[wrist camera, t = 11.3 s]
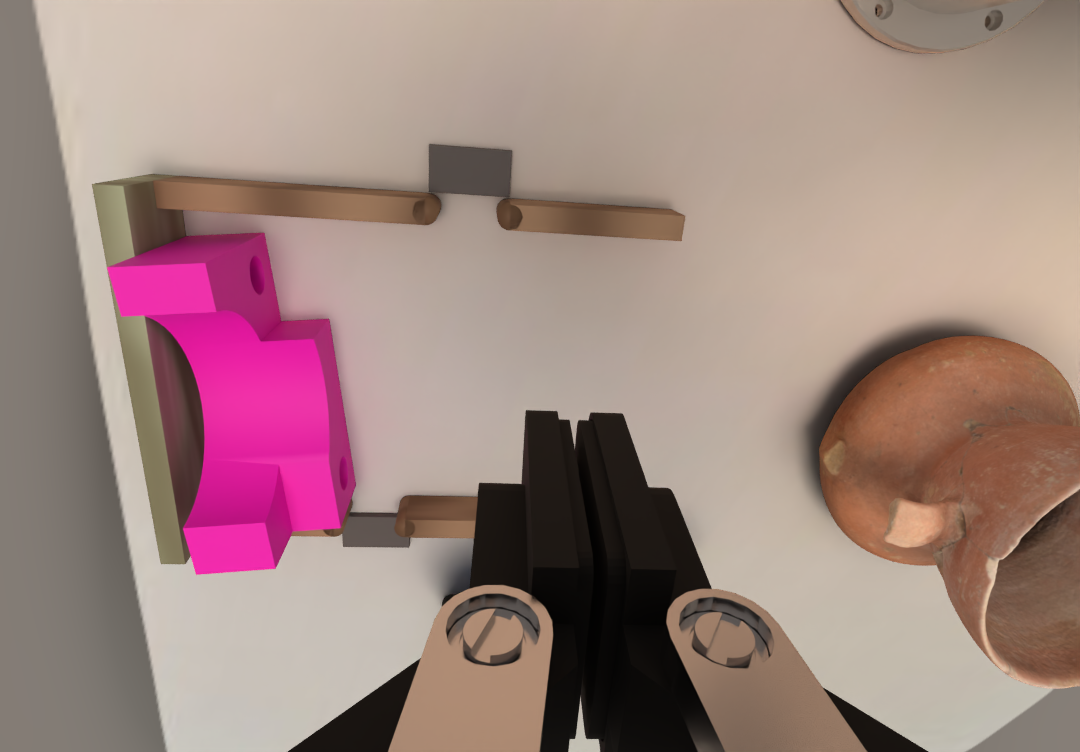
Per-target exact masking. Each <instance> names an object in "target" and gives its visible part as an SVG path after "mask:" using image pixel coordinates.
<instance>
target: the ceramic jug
mask: <svg viewBox="0 0 1080 752" xmlns="http://www.w3.org/2000/svg"><path fill="white" fill-rule="evenodd" d="M819 455H820V481H821V486H822V491H823V495H824V498H825V501H826V504H827V507H828V509H829V511H830V513H831V515H832V517H833V519H834V520H835V522H836V524H837V525H838V526H839V528H840V529H841V530H842V531H843V532H844V533H845V534H846V535H847V536H848V537H849V538H850V539H851V540H852V541H853V542H855V543H856V544H857V545H859V546H860V547H861V548H863V549H865V550H866V551H868V552H870V553H872V554H875V555H877V556H879V557H882V558H884V559H887V560H890V561H894V562H898V563H903V564H910V565H937V567H938V569H939V571H940V573H941V575H942V577H943V580H944V582H945V586H946V589H947V592H948V595H949V598H950V600H951V602H952V604H953V606H954V608H955V610H956V612H957V614H958V616H959V617H960V619H961V621H962V623H963V624H964V626H965V628H966V629H967V631H968V632H969V634H970V635H971V637H972V638H973V640H974V641H975V642H976V643H977V645H978V646H979V647H980V649H981V650H982V651H983V652H984V653H985V655H986V656H987V657H988V658H989V659H990V660H991V661H992V662H993V663H994V664H995V665H996V666H997V667H998V668H999V669H1001V670H1002V671H1003V672H1005V673H1006V674H1007V675H1009V676H1010V677H1012V678H1014V679H1016V680H1018V681H1020V682H1024V683H1026V684H1029V685H1033V686H1037V687H1042V688H1058V689H1061V688H1070V687H1073V686H1080V415H1079V410H1078V406H1077V402H1076V399H1075V396H1074V394H1073V392H1072V389H1071V388H1070V386H1069V384H1068V382H1067V381H1066V379H1065V378H1064V377H1063V376H1062V374H1061V373H1060V372H1059V371H1058V370H1057V369H1056V368H1055V367H1054V366H1053V365H1052V364H1051V363H1050V362H1049V361H1048V360H1047V359H1045V358H1044V357H1042V356H1041V355H1040V354H1038V353H1036V352H1035V351H1033V350H1031V349H1029V348H1027V347H1025V346H1022V345H1020V344H1017V343H1014V342H1011V341H1008V340H1004V339H999V338H994V337H985V336H957V337H949V338H943V339H938V340H935V341H931V342H928V343H925V344H923V345H920V346H918V347H916V348H913V349H911V350H908V351H905V352H902V353H900V354H898V355H896V356H894V357H892V358H890V359H888V360H886V361H885V362H884V363H882V364H881V365H879V366H878V367H876V368H875V369H874V370H873V371H871V372H870V373H869V374H868V375H867V376H866V377H864V378H863V379H862V380H861V381H860V382H859V383H858V384H857V385H856V386H855V387H854V389H853V390H852V391H851V392H850V393H849V394H848V396H847V397H846V398H845V400H844V401H843V402H842V404H841V406H840V407H839V409H838V410H837V412H836V413H835V415H834V417H833V419H832V421H831V423H830V425H829V427H828V429H827V431H826V433H825V435H824V437H823V440H822V442H821V445H820V447H819Z"/></svg>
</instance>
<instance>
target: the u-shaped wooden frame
mask: <svg viewBox="0 0 1080 752" xmlns="http://www.w3.org/2000/svg"><path fill="white" fill-rule="evenodd" d="M92 187H93V193H94V198H95V204H96V209H97V215H98V220H99V226H100V231H101V237H102V242H103V248H104V253H105V259H106V264H107V267H109V266H112V265H114V264H117V263H120V262H122V261H125V260H127V259H130V258H132V257H135V256H137V255H140V254H143V253H145V252H148V251H150V250H153V249H155V248H158V247H160V246H163V245H166V244H168V243H171V242H173V241H176V240H178V239H181V238H183V237H186V234H185V226H184V218H183V211H182V210H194V211H210V212H226V213H242V214H258V215H274V216H290V217H306V218H322V219H338V220H354V221H370V222H386V223H402V224H418V225H429V224H432V223H433V222H434V221H435V220H436V218H437V216H438V214H439V212H440V210H441V202H440V199H439V198H438V197H437V196H436V195H434V194H432V193H422V192H407V191H393V190H378V189H363V188H348V187H334V186H319V185H304V184H289V183H275V182H260V181H245V180H231V179H216V178H201V177H186V176H172V175H157V174H149V175H143V176H137V177H131V178H125V179H119V180H113V181H107V182H101V183H95V184H92ZM497 219H498V222H499V224H500V226H501V227H502V228H504V229H506V230H513V231H529V232H545V233H561V234H577V235H593V236H609V237H625V238H641V239H657V240H673V241H682V234H683V228H684V222H685V216H684V215H682V214H680V213H678V212H676V211H674V210H671V209H658V208H643V207H628V206H614V205H599V204H584V203H569V202H555V201H540V200H525V199H510V198H507V199H503V200H501V201H500V202H499V204H498V205H497ZM107 270H108V269H107ZM108 275H109V272H108ZM109 281H110V286H111V292H112V297H113V303H114V308H115V314H116V319H117V325H118V330H119V336H120V342H121V347H122V353H123V358H124V364H125V369H126V375H127V380H128V386H129V391H130V397H131V402H132V408H133V413H134V419H135V424H136V430H137V435H138V441H139V446H140V452H141V457H142V463H143V468H144V474H145V479H146V485H147V490H148V496H149V501H150V507H151V512H152V518H153V523H154V529H155V534H156V540H157V545H158V551H159V556H160V562H161V564H186V562H187V561H188V559H189V558H190V556H191V555H190V551H189V548H188V544H187V541H186V538H185V534H184V531H183V527H184V525H185V523H186V522H187V520H188V518H189V515H190V513H191V511H192V508H193V505H194V503H195V500H196V496H197V493H198V489H199V485H200V481H201V475H202V469H203V460H204V442H205V435H204V418H203V410H202V403H201V398H200V393H199V389H198V385H197V382H196V378H195V375H194V372H193V370H192V367H191V365H190V363H189V360H188V358H187V356H186V354H185V353H184V351H183V349H182V347H181V346H180V344H179V343H178V341H177V340H176V339H175V337H174V336H173V335H172V334H171V333H170V332H169V331H168V330H167V329H166V328H165V327H164V326H162V325H161V324H160V323H158V322H157V321H155V320H153V319H151V318H148V317H146V316H126V317H121V314H120V310H119V307H118V303H117V300H116V297H115V293H114V290H113V286H112V283H111V279H110V276H109ZM477 500H478V497H454V496H405V497H403V498H402V499H401V501H400V505H399V509H398V514H397V518H396V523H395V527H394V530H395V532H396V534H397V535H399V536H401V537H412V538H474V534H475V523H476V511H477ZM352 505H353V502H352V499H351V500H350V503H349V506H348V509H347V512H346V514H345V517H344V520H343V523H342V526H341V528H336V529H322V530H308V531H294V532H292V534H291V536H331V537H335V536H339V535H341V534H342V533H343V531H344V528H345V525H346V522H347V520H348V517H349V514H350V511H351V508H352Z"/></svg>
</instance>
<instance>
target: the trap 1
mask: <svg viewBox="0 0 1080 752" xmlns="http://www.w3.org/2000/svg"><path fill="white" fill-rule="evenodd" d="M396 518H397V514H391V513H350V514H349V517H348V520H347V522H346V525H345V528H344V531H343V533H342V536H343V547H409V546H410V537H401V536H399V535H397V534H396V532H395V530H394V527H395V523H396Z"/></svg>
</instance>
